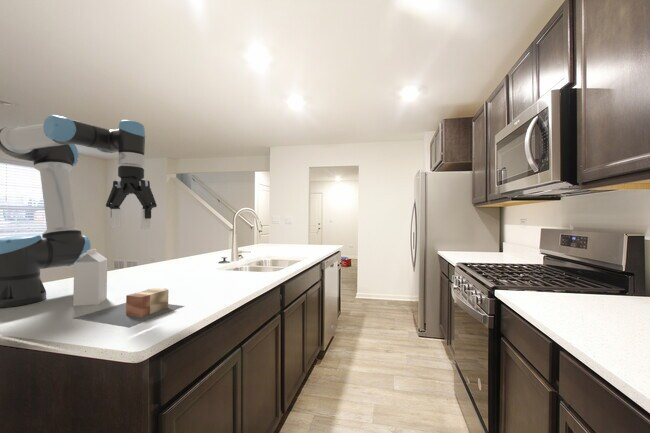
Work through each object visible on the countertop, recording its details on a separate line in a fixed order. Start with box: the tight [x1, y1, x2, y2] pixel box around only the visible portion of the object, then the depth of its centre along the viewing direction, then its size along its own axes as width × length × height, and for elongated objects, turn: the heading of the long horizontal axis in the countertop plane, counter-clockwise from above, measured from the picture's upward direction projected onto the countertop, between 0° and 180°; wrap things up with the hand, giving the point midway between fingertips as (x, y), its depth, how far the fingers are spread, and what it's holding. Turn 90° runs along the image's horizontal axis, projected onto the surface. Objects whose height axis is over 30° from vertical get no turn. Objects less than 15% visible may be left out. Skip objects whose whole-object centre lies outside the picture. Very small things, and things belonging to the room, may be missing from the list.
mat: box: [73, 302, 185, 328], centre depth 91 cm, size 22×20×1 cm
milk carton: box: [72, 248, 108, 307], centre depth 101 cm, size 7×7×19 cm
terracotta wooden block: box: [125, 287, 169, 317], centre depth 92 cm, size 10×6×6 cm, turn 163°
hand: (130, 228), depth 100 cm, fingers open, 13 cm apart
